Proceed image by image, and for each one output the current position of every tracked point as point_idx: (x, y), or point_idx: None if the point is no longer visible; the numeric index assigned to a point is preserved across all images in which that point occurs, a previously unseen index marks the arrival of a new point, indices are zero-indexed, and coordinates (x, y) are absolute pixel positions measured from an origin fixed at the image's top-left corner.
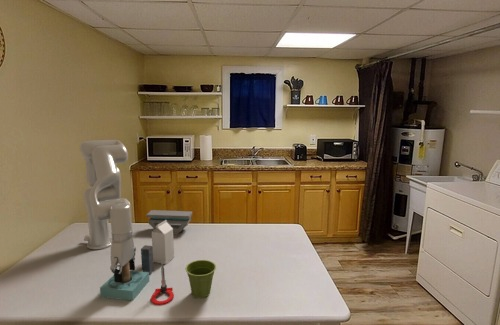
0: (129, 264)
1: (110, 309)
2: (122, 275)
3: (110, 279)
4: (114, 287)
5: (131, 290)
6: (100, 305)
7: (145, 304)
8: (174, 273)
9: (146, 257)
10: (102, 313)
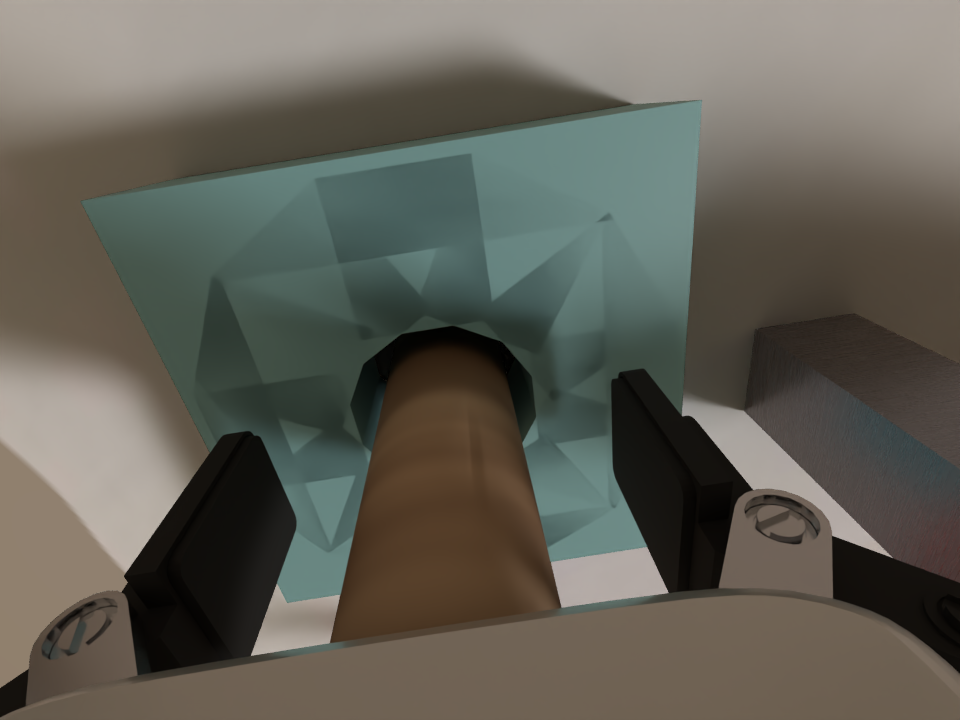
0: (651, 493)
1: (106, 434)
2: (252, 628)
3: (358, 190)
4: (226, 404)
5: (288, 593)
6: (73, 302)
7: (322, 607)
8: None
9: (947, 562)
10: (15, 411)
